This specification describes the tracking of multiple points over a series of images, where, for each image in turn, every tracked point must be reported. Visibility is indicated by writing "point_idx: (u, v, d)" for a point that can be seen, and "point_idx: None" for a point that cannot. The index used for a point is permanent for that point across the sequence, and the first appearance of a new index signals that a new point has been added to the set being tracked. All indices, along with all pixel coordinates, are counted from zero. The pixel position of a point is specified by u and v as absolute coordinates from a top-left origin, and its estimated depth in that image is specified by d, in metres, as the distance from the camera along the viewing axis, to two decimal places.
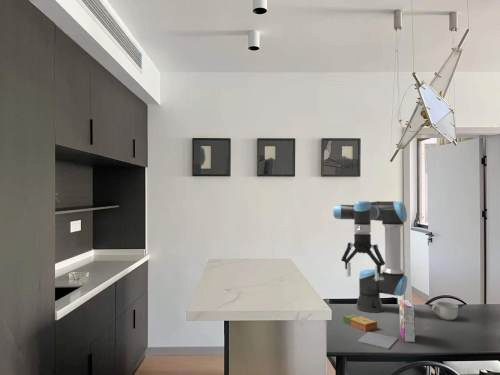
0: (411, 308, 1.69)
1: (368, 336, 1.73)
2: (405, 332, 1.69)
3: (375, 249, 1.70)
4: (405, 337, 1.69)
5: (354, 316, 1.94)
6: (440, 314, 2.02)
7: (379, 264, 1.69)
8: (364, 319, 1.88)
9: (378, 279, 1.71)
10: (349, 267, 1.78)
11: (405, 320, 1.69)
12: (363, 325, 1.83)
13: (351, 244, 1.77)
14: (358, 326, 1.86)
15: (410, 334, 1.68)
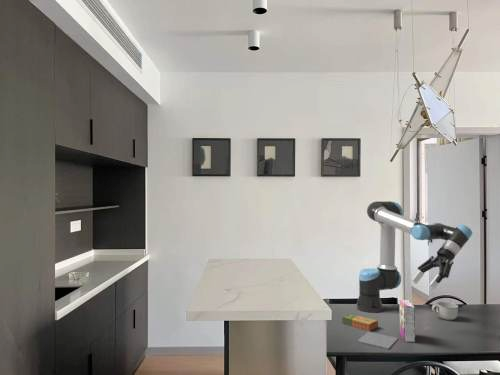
0: (411, 308, 1.69)
1: (368, 336, 1.73)
2: (405, 332, 1.69)
3: None
4: (405, 337, 1.69)
5: (353, 316, 1.93)
6: (440, 314, 2.02)
7: (422, 271, 1.87)
8: (365, 319, 1.89)
9: (412, 280, 1.84)
10: None
11: (405, 320, 1.69)
12: (366, 325, 1.83)
13: None
14: (360, 326, 1.85)
15: (410, 334, 1.68)
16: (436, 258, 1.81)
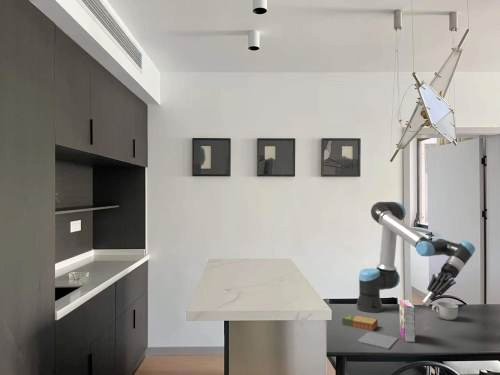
0: (411, 308, 1.69)
1: (368, 336, 1.73)
2: (405, 332, 1.69)
3: None
4: (405, 337, 1.69)
5: (352, 317, 1.93)
6: (440, 314, 2.02)
7: None
8: (365, 318, 1.89)
9: (423, 301, 1.77)
10: None
11: (405, 320, 1.69)
12: (369, 325, 1.84)
13: None
14: (363, 326, 1.85)
15: (410, 334, 1.68)
16: (441, 273, 1.82)
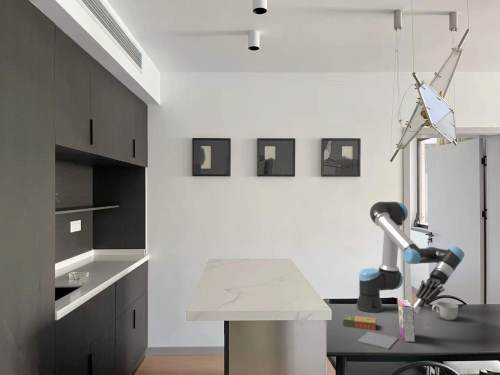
0: (409, 307, 1.69)
1: (368, 336, 1.73)
2: (405, 332, 1.69)
3: None
4: (405, 337, 1.69)
5: (352, 317, 1.92)
6: (440, 314, 2.02)
7: None
8: (365, 318, 1.90)
9: None
10: None
11: (404, 320, 1.69)
12: (372, 324, 1.84)
13: None
14: (365, 326, 1.85)
15: (409, 333, 1.69)
16: (430, 280, 1.78)
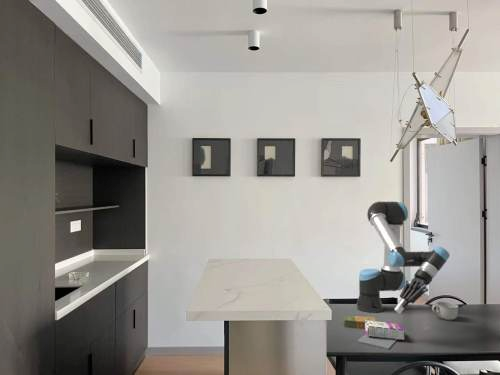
0: (369, 329, 1.72)
1: (368, 336, 1.73)
2: (394, 338, 1.70)
3: None
4: (399, 338, 1.69)
5: (352, 317, 1.91)
6: (440, 314, 2.02)
7: None
8: (365, 318, 1.90)
9: (394, 309, 1.73)
10: None
11: (382, 336, 1.71)
12: None
13: None
14: None
15: (396, 333, 1.70)
16: (414, 280, 1.77)
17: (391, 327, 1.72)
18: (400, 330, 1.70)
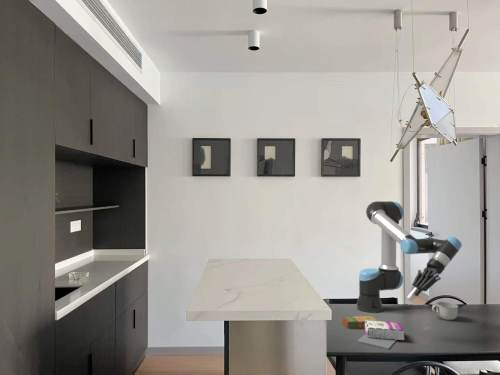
0: (369, 331, 1.72)
1: None
2: (394, 338, 1.70)
3: None
4: (399, 339, 1.69)
5: (353, 318, 1.90)
6: (440, 314, 2.02)
7: None
8: (365, 317, 1.91)
9: (407, 297, 1.76)
10: None
11: (382, 337, 1.71)
12: None
13: None
14: None
15: (396, 334, 1.69)
16: (426, 269, 1.79)
17: (391, 328, 1.72)
18: (400, 331, 1.69)
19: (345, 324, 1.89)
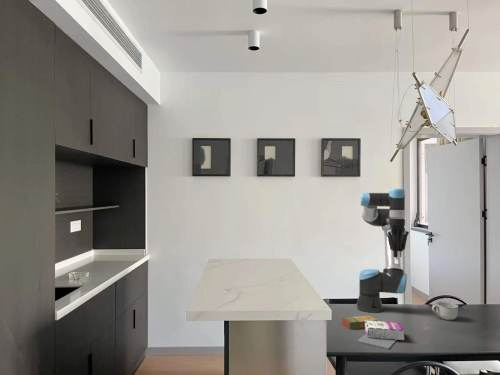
0: (369, 331, 1.72)
1: None
2: (394, 338, 1.70)
3: (406, 235, 1.92)
4: (399, 339, 1.69)
5: (353, 318, 1.90)
6: (440, 314, 2.02)
7: None
8: (364, 317, 1.92)
9: None
10: None
11: (382, 337, 1.71)
12: None
13: (390, 232, 1.90)
14: None
15: (396, 334, 1.69)
16: None
17: (391, 328, 1.72)
18: (400, 331, 1.69)
19: (346, 325, 1.88)
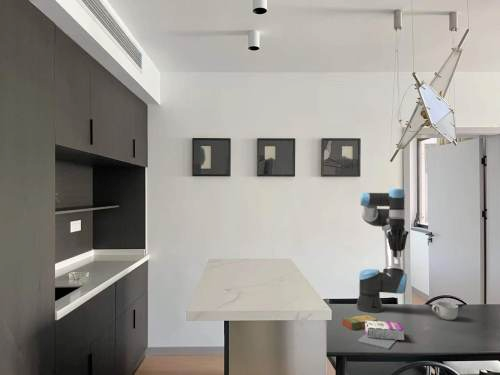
0: (369, 331, 1.72)
1: None
2: (394, 338, 1.70)
3: (406, 235, 1.92)
4: (399, 339, 1.69)
5: (354, 319, 1.89)
6: (440, 314, 2.02)
7: None
8: (363, 317, 1.92)
9: None
10: None
11: (382, 337, 1.71)
12: None
13: (389, 231, 1.90)
14: None
15: (396, 334, 1.69)
16: None
17: (391, 328, 1.72)
18: (400, 331, 1.69)
19: (348, 325, 1.87)
